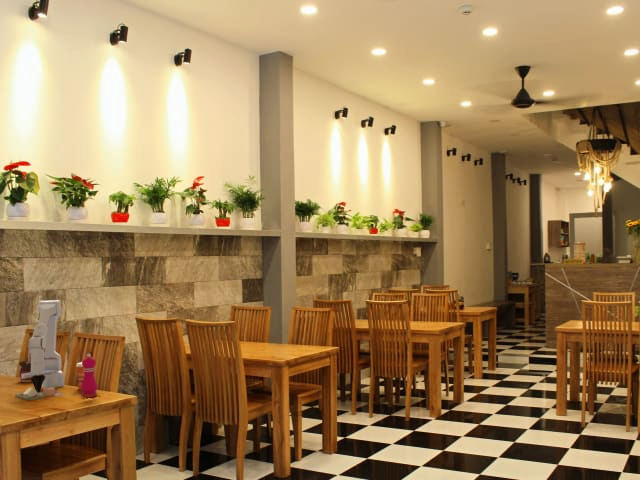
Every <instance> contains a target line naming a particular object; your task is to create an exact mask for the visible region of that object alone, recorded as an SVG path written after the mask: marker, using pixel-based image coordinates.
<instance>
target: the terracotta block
mask: <svg viewBox="0 0 640 480" xmlns="http://www.w3.org/2000/svg"><path fill="white" fill-rule="evenodd" d="M42 392H43V395H45V396H51V397H53V396H52V395H55V392H56V388H45V389H44V388H42Z"/></svg>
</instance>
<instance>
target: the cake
mask: <svg viewBox="0 0 640 480" xmlns="http://www.w3.org/2000/svg"><path fill="white" fill-rule="evenodd" d="M18 365H19V366H20V370H19V371H18V372H19V377H20V379H19V382H23V383H32V381H31V379H30V377H29V378H24V379H23V378H21V374H25V373H30V372H31V353H30V350H29V346H28V347H27V358H26V360H21V361H20V362H19V363H18Z"/></svg>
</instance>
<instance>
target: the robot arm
mask: <svg viewBox="0 0 640 480" xmlns="http://www.w3.org/2000/svg"><path fill="white" fill-rule="evenodd" d="M37 311H38V314H39V320H38V324H36V325H35V326H34V330H33V333H32V336H31V338H29V339H28V347H29V350H30V354H31V372H30V373H25V374H21V376H20V379H21V378H23V379H24V378H29V377H30V379H31V381H32V382H31V383H32V385H33V388H34V389H35V390H36V391H37V392H38V393H41V391H42V389H45V388H55V389H56V388H62V387H64V386H65V376H64V373H63V371H62V370H61V369H62V365H63V364H62V362H63V361H62V356H61V354H59V353H58V352H57V351H56V348H57V328H58V327H57V326H58V319H59V318H61V317H62V316H61V314H62V303H61V300H60V299H57V300H55V299H54V300H53V299H52V300H39V301H38V303H37Z"/></svg>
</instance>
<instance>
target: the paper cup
mask: <svg viewBox="0 0 640 480" xmlns="http://www.w3.org/2000/svg"><path fill="white" fill-rule="evenodd" d="M83 368H84V367H83V366H82V361H81V362H77V363H76V373H77V386H78V388H77V389H78V390H80V391H82V390H81V386H82V383H83V380H84V371H83V370H84V369H83Z"/></svg>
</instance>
